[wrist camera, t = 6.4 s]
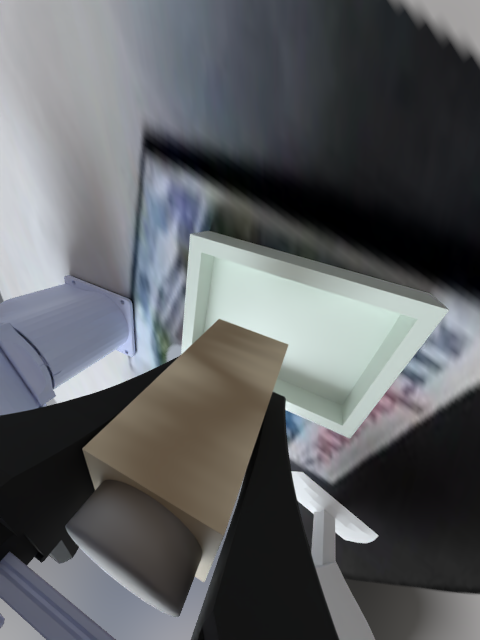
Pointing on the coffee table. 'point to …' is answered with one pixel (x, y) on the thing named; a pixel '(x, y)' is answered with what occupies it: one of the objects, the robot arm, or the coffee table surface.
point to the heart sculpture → (327, 522)
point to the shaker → (177, 465)
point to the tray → (310, 323)
